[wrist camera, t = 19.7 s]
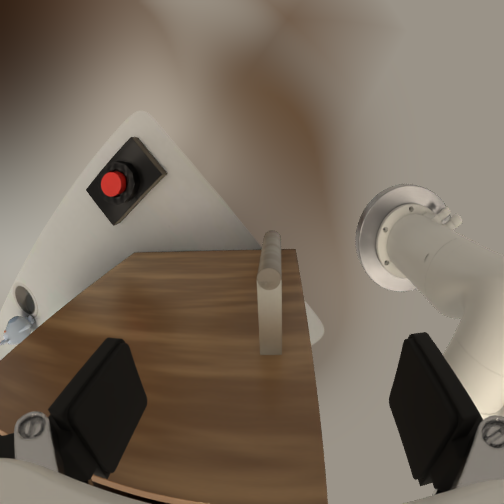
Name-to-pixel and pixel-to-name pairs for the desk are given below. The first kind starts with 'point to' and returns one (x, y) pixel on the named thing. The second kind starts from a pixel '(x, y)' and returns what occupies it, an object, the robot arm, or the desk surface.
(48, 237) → the desk surface
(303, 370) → the cupboard door
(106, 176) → the button
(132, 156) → the button block
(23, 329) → the toy figure
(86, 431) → the robot arm
